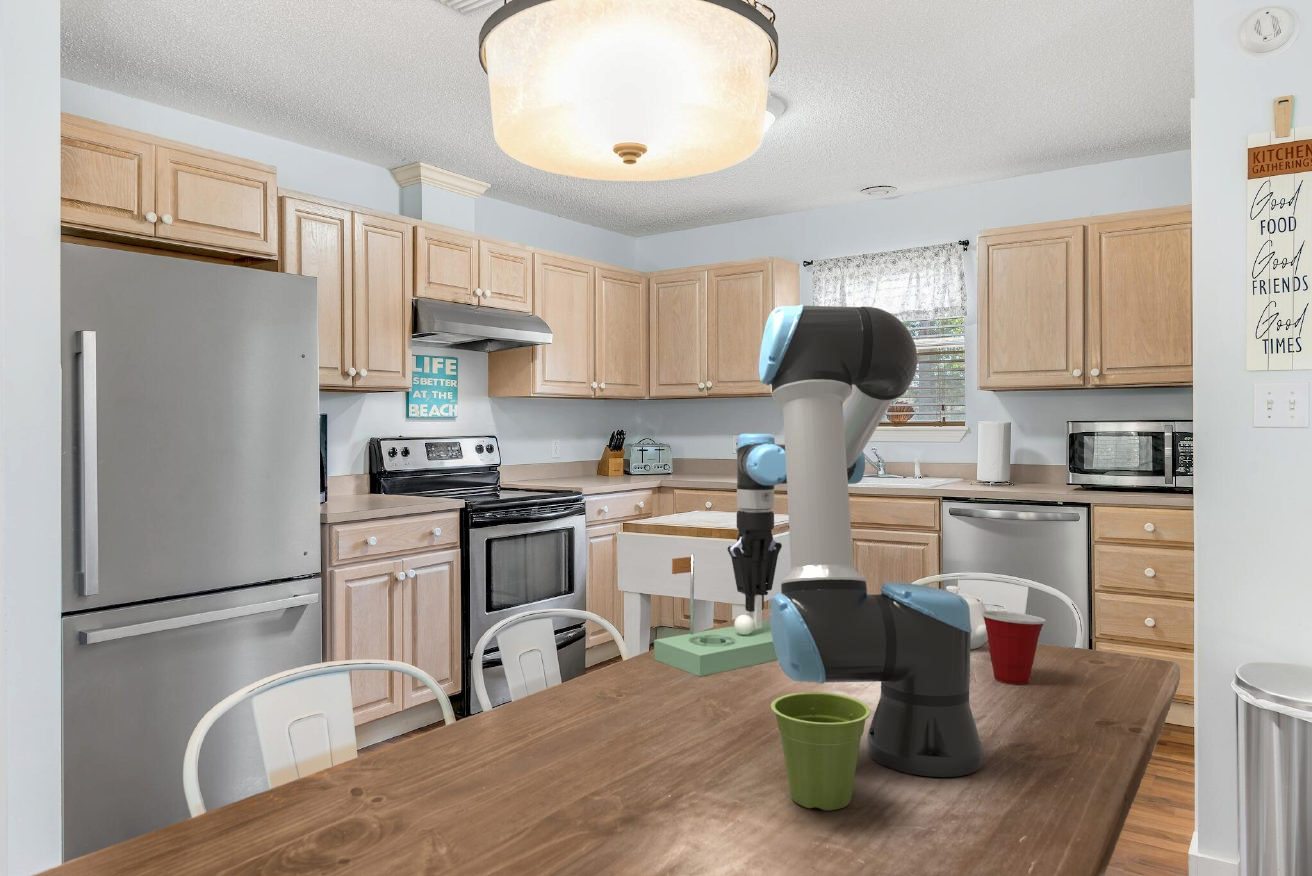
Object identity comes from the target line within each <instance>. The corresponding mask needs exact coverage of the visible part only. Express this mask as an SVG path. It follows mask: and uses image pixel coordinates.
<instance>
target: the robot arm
mask: <svg viewBox="0 0 1312 876" xmlns="http://www.w3.org/2000/svg"><path fill="white" fill-rule="evenodd" d="M758 365H759V366H758V373H759V381H760V382H761V383H762V384H765V385H766V386H770V385H771V395H772V396H771V397H772V399H773V400H774V401H775V402H776V403H778V404H779V405H780V406H781V407H782V410H783V431H784V444H778V443H777V444H776V443H775V436H774V435H773V434H772V433H742V434H739V435H738V437H737V445H736V459H737V460H736V470H737V471H736V474H737V476H736V481H737V482H736V484H737V485H736V508H737V509H739V510H737V511H736V528H737V530H738V535H737V538H736V543H734V545H729V546H728V547H727V551H728V554H729V556H730V557H731V563H732V569H733V574H734V575H733V576H734V579H735V580H734V581H735V584H736V590H737V592H738V593H741V594H743V595H744V596H745V597H744V598H745V607H744V608H745V611H747V613H746V615H748V616H750V617H751V618H752V619H753V621H754V628H755V629H758V628H762V621H763V610H764V608H765V603H764V602H765V596H767V595H768V594H769V591H772V590H773V585H774V579H775V573H776V569H777V562H778V557H779V553H780V552H781V549H782V548H783V547H782V546H783V545H782V543H781V542H776V541H775V540H774V536H773V533H772V531H773V530H774V528H775V513H774V511H772V510H773V509H774V508H775V486H776V485H786V487H787V488H786V490H787V491H786V492H787V508H788V509H787V510H788V513H787V514H788V528H789V529H788V530H789V532H788V533H789V551H790V552H789V553H790V571H789V573H788V574H787V575H786V576H785V577H784V578H783V579H782V580H781V581H780V588H781V590H780V591H781V593H780V592H779V593H776V594H775V595H773V596H771V598H770V601H769V620H770V626H771V634H772V639H773V644H774V648H775V652H776V656H777V659H778V660H777V661H778V663H779V666H780V668H781V670H782V672H783V673H784V675H785V676H786V677H788V679H790V680H792V681H795V682H798V683H799V682H804V683H817V684H821V685H822V684H825V683H863V682H864V683H867V682H868V683H869V682H870V683H871V682H873V683H874V682H875V683H877V682H880V697H879V700H878V703H877V707H876V708H875V712H874V714H873V717H872V720H871V722H870V723H871V724H870V727H869V729H868V732H867V743H866V744H867V745H866V746H867V747H866V749H867V753H868V755H869V757H870V758H871V759H873V760H874V761H875V762H877V763H879V764H881V765H883V766H885V767H887V768H888V769H889V768H890V769H892V770H896V771H899V772H902V773H905V774H911V775H917V776H924V777H933V778H953V777H961V776H967V775H970V774H973V773H976V772H977V771H978V770H980V769H981V768H982V766H983V763H984V761H983V758H984V757H983V755H984V754H983V752H984V751H983V750H984V749H983V744H982V743H983V742H982V741H981V739H980V736H979V732H978V731H979V730H978V729H977V725H976V722H975V718H974V716H973V712H972V710H971V705H970V686H971V684H970V683H971V682H970V680H971V649H970V641H971V633H972V629H971V624H970V609H969V605H968V603H967V601H966V600H965V599H964V598H963V597H961V596H959V595H957V594H958V593H956V594H955V593H952V592H949V591H948V590H947V589H941V588H937V587H934V586H933V587H932V586H928V585H923V584H917V583H908V582H901V581H899V582H898V581H888V582H887V581H886V582H884V583H883V584H882V586H881V588H880V593H879V594H870V593H869V594H868V591H867V579H866V578H865V577H863V575H862V574H860V573H859V572H858V571H857V569H855V566H854V565H855V564H854V553H853V552H854V551H853V538H852V525H851V524H852V523H851V521H852V520H851V510H850V509H851V507H850V495H849V493H850V492H849V485H854V484H859V483H860V482H862V480H863V478H864V474H865V470H866V457H865V453H864V449H865V448H866V446H867V444H868V443H869V441H870V439H871V437H872V436H873V434H874V433H875V431H876V429H877V427H878V426H879V424H880V423H881V421H882V419H883V418H884V416H885V414H886V413H887V411H888V409H889V408H890V406H891V405H892V402H893V401H894V400H896V399H899V398H901V397H902V396H903V395H904V394H905V393H906V392H907V390H908V389H909V387H910V385H911V384H912V382H913V380H914V377H915V375H916V372H917V367H918V351H917V346H916V342H915V341H914V339H913V336H912V334H911V332H910V331H909V330H908V328H907V326H906V325H905V324H904V323H903V322H902V321H901V319H899V318H898V317H896V316H895V315H894V314H892V313H890V312H889V311H886V310H883V309H882V308H878V307H874V306H873V307H872V306H833V305H831V306H830V305H829V306H826V305H824V306H823V305H804V303H803V304H800V305H789V306H788V305H783V306H782V305H781V306H777V307H776V308H774V309H773V310H772V311H771V312H770V314H769V316H768V318H767V321H766V323H765V327H764V331H763V336H762V341H761V346H760V354H759V364H758Z"/></svg>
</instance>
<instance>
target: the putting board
mask: <svg viewBox="0 0 1312 876" xmlns="http://www.w3.org/2000/svg"><path fill="white" fill-rule="evenodd" d="M653 660H654V661H657V662H660V663H662V664H666V665H667V666H670V667H673V668H676V669H679V670H681V671H684V672H687V673H689V674H692V675H695V676H698V677H703V676H708V675H714V674H718V673H723V672H727V671H732V670H737V669H742V668H746V667H751V666H755V665H760V664H765V663H770V662H773V661H778V659H777V656H776V652H775V648H774V644H773V639H772V634H771V626H770V619H767V620H762V628H758V629H755V628H754V629H753V631H752V632H751V633H750V634H748V635H741V634H739V633H738V632H737V631H736V630H735V627H734V625H732V626H727V627H721V628H716V629H715V628H714V629H710V630H703V631H698V632H693V635H691V634H690V633H687V634H681V635H674V636H670V637H663V638H658V639H654V640H653Z"/></svg>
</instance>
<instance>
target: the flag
mask: <svg viewBox="0 0 1312 876" xmlns="http://www.w3.org/2000/svg"><path fill="white" fill-rule="evenodd" d="M685 573H686V574H687V573H690V576H689V577H690V579H689V580H690V583H689V584H690V585H689V586H690V588H689V589H690V590H689V593H690V594H689V596H690V597H689V600H690V601H689V602H690V604H689V634H691V635H693V633H694V630H695V629H694V628H695V626H694V625H695V622H694V619H695V618H694V617H695V614H694V612H695V611H694V609H695V608H694V607H695V606H694V605H695V599H694V598H695V554H694V553H690V556H687V557H686V556H685V557H676V558H672V559H671V574H672V575H678V574H685Z"/></svg>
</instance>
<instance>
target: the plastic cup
mask: <svg viewBox="0 0 1312 876" xmlns="http://www.w3.org/2000/svg"><path fill="white" fill-rule="evenodd" d="M982 616H983V618H984V620H985V625H986V631H987V635H988V641H987V642H988V649H989V655H990V660H991V664H992V672H993V676H994V679H995V680H996V681H998V682H1000V683H1004V684H1008V685H1017V686H1018V685H1026V684H1029V682H1030V679H1031V675H1032V670H1033V669H1032V668H1033V665H1034V662H1035V657H1036V652H1037V647H1038V641H1039V637H1040V634H1041V632H1042V627H1043V626H1044V624H1045V623H1046V622H1047V620H1046V619H1045V618H1043V617H1040V616H1036V615H1032V614H1026V613H1019V612H1013V611H1006V612H1005V611H994V610H987V611H982Z"/></svg>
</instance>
